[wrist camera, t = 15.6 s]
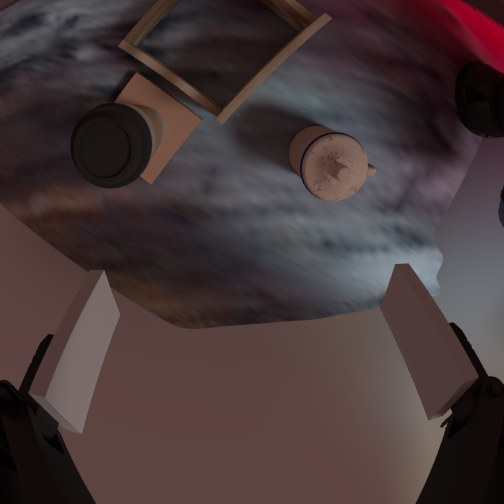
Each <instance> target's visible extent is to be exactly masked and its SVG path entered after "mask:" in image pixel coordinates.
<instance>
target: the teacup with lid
mask: <svg viewBox="0 0 504 504" xmlns="http://www.w3.org/2000/svg"><path fill="white" fill-rule="evenodd" d="M289 159H290V163H291V166H292V167H293V169H294V170H295V172H296V173H297V174H298V175H299V177H300V178H301V179H302V181H303V183H304V185H305V187H306V188H307V190H308V191H309V192H310V193H311V194H313V195H314V196H315V197H317V198H319V199H322V200H326V201H340V200H344V199H346V198H348V197H350V196H352V195H353V194H355V193H356V192H357V191H358V190H359V189H360V187H361V186H362V184H363V183H364V181H365V178H366V176H374V175H375V173H376V168H375V167H374V166H372V165H370V164H368V161H367V156H366V154H365V151H364V149H363V147H362V146H361V144H360V143H359V142H358V141H357V140H356V139H354V138H353V137H351V136H349V135H347V134H344V133H339V132H336V131H334V130H331V129H329V128H326V127H323V126H311V127H307V128H305V129H303V130H302V131H300V132H299V133H298V134H297V135H296V136H295V137H294V139H293V140H292V142H291V145H290V148H289Z"/></svg>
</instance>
